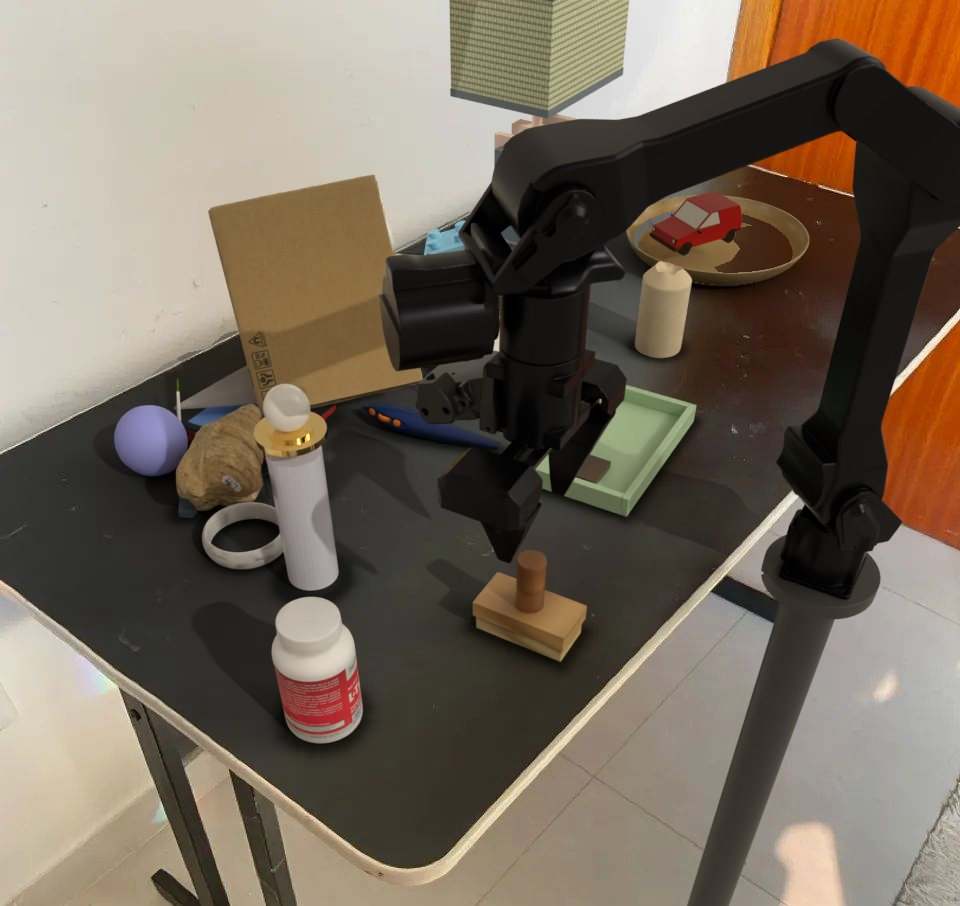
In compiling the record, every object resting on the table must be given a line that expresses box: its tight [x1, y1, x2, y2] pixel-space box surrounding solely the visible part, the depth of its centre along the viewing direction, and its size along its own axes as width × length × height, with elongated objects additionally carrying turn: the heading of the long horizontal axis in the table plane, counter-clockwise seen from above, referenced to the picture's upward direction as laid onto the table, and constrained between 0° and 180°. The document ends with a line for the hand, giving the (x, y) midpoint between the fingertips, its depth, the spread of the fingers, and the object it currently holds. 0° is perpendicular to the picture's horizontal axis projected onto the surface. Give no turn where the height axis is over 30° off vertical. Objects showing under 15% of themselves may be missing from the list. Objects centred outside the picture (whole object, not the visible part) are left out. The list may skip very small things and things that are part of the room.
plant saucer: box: [625, 194, 810, 287], centre depth 133 cm, size 24×24×3 cm
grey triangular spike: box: [173, 365, 257, 410], centre depth 106 cm, size 6×5×13 cm
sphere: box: [113, 404, 189, 477], centre depth 99 cm, size 7×7×7 cm
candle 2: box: [634, 261, 693, 359], centre depth 115 cm, size 6×6×10 cm
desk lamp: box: [449, 0, 630, 250], centre depth 124 cm, size 18×14×33 cm
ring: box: [201, 501, 284, 570], centre depth 93 cm, size 8×8×2 cm
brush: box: [472, 549, 588, 663], centre depth 83 cm, size 9×4×8 cm, turn 60°
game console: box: [171, 372, 337, 464], centre depth 106 cm, size 14×13×2 cm
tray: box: [535, 384, 697, 517], centre depth 103 cm, size 13×19×2 cm
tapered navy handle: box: [362, 402, 500, 451], centre depth 105 cm, size 16×4×2 cm, turn 68°
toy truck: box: [649, 190, 743, 256], centre depth 127 cm, size 6×12×5 cm, turn 123°
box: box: [207, 174, 424, 419], centre depth 102 cm, size 21×18×2 cm
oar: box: [175, 378, 199, 519], centre depth 100 cm, size 2×18×1 cm, turn 10°
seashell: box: [175, 404, 264, 512], centre depth 96 cm, size 14×8×8 cm
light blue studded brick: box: [423, 219, 466, 255], centre depth 126 cm, size 12×6×8 cm, turn 179°
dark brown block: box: [576, 455, 611, 484], centre depth 100 cm, size 4×4×1 cm
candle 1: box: [254, 384, 340, 591], centre depth 83 cm, size 6×6×20 cm
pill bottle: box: [271, 596, 364, 744], centre depth 75 cm, size 6×6×11 cm
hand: (532, 525), depth 77 cm, fingers open, 9 cm apart
